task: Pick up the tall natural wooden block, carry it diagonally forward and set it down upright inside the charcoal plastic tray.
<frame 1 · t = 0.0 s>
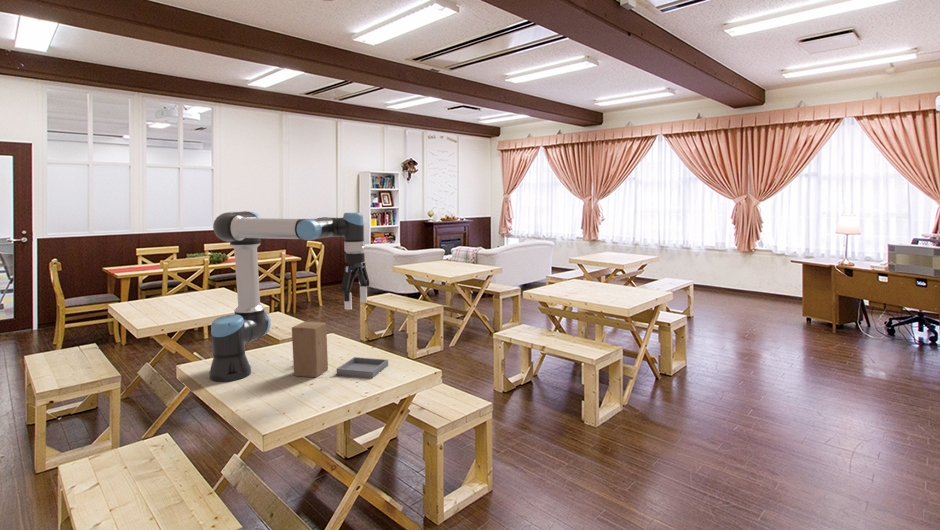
hand: (356, 305, 204), 28 cm above the table, fingers open, 13 cm apart
tray: (363, 370, 212), on the table
walnut cube: (309, 364, 220), on the table
wooden block: (311, 373, 209), on the table
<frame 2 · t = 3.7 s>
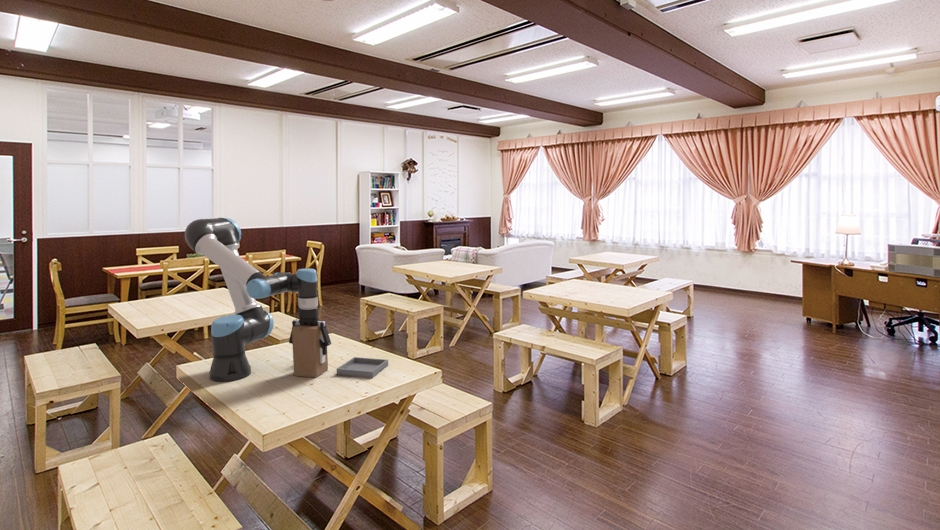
hand: (310, 361, 208), 5 cm above the table, fingers closed on wooden block, 10 cm apart
wooden block: (311, 373, 209), on the table, touching gripper
everything else where it was.
when the fingers open (7 cm above the table, at t = 9.5 s): wooden block drops 1 cm, resting on tray.
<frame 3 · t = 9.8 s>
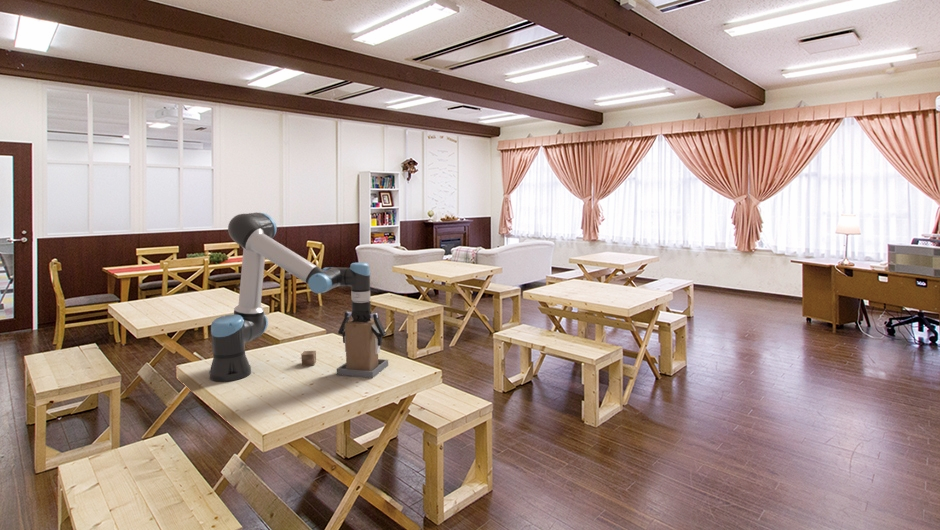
hand: (362, 352, 211), 8 cm above the table, fingers open, 13 cm apart
wooden block: (362, 369, 212), resting on tray
everything else where it was.
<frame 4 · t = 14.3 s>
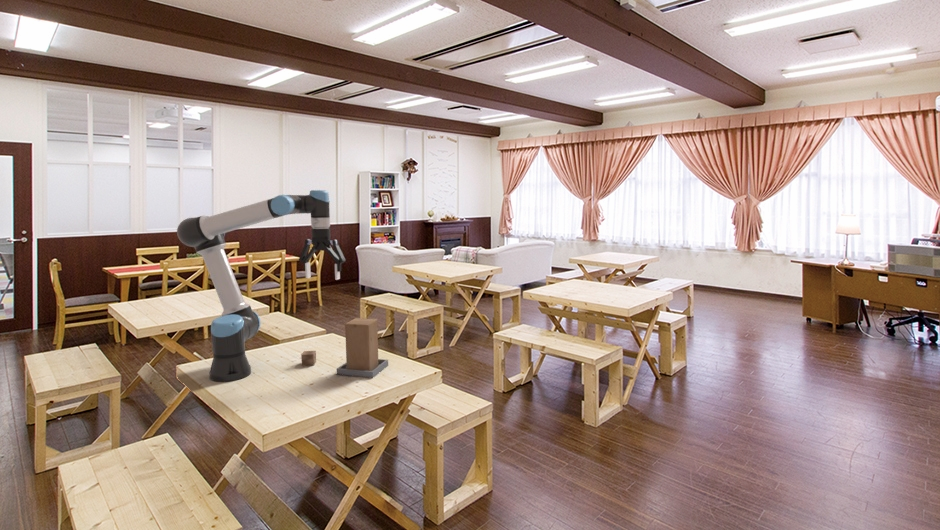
hand: (322, 278, 216), 37 cm above the table, fingers open, 13 cm apart
nothing on the table moved.
at the end: wooden block inside the target area on the tray (0.1 cm from its centre), point 0.4 cm above the tray's base; wooden block tilted 0°; the gripper is holding nothing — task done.
